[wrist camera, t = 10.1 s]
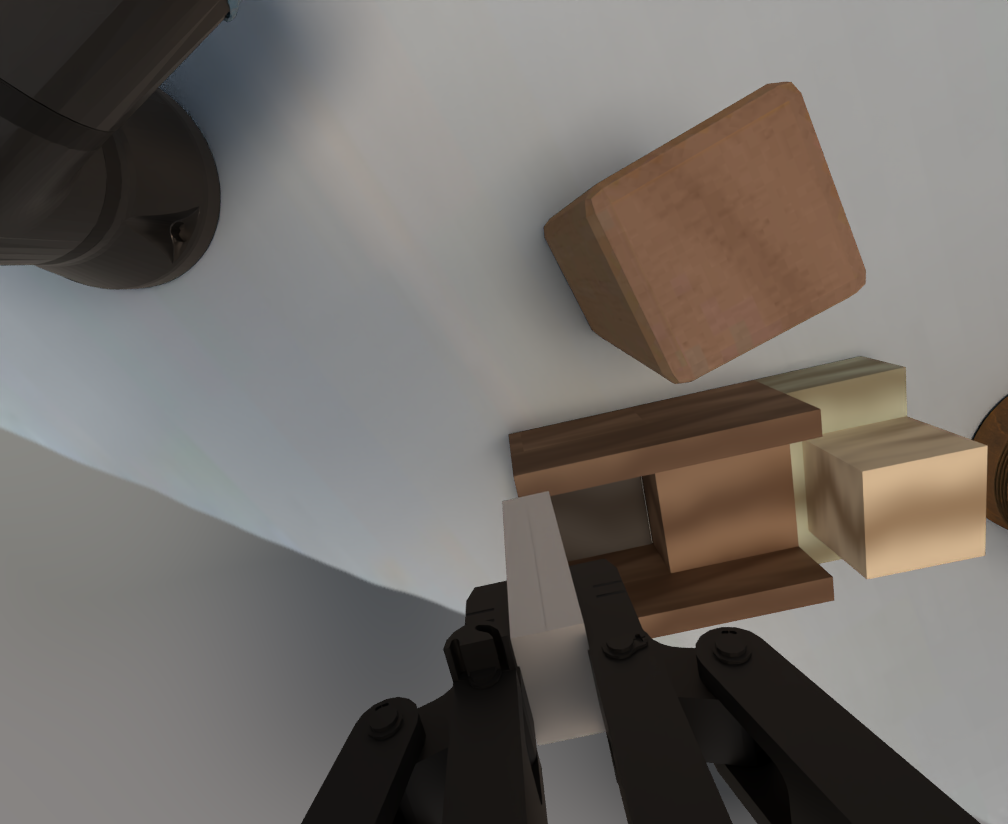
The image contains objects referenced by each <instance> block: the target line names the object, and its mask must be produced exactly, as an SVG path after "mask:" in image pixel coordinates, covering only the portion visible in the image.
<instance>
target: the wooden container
mask: <svg viewBox="0 0 1008 824" xmlns="http://www.w3.org/2000/svg"><path fill="white" fill-rule="evenodd" d="M973 441H976V442H979V443H982V444H984V445H987V446H988V447H987V491H986V518H988V519H989V520H991V521H992V522H994V523H996V524H998V525H1000V526H1002V527H1003V528H1005V529H1007V530H1008V397H1006V398H1005V399H1004V400H1003V401H1001V402H1000V403H999V404H998V405H997V406H996V407H995V409H994V410H993V411H992V412H991V413H990V414H989V416H988V417H987V418H986V419H985V421H984V422H983V423H982V425H981V427H980V428H979V430H978V432H977V434H976V435H975V438H974V440H973Z"/></svg>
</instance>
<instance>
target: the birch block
mask: <svg viewBox="0 0 1008 824" xmlns="http://www.w3.org/2000/svg"><path fill="white" fill-rule="evenodd" d="M987 447H988V446H987V445H984V444H982V443H979V442H976V441H973V440H971V439H968V438H965V437H962V436H959V435H957V434H954V433H951V432H948V431H946V430H943V429H940V428H937V427H935V426H932V425H929V424H926V423H924V422H921V421H918V420H915V419H913V418H910V417H907V416H905V417H900V418H895V419H891V420H886V421H881V422H876V423H871V424H867V425H862V426H857V427H852V428H848V429H843V430H838V431H833V432H829V433H824V434H823V437H820V438H815V439H810V440H806V441H802V448H803V461H804V475H805V489H806V503H807V517H808V530H809V532H811V533H812V534H813V535H814V536H815V537H817V538H818V539H819V540H820V541H821V542H823V543H824V544H825V545H826V546H827V547H829V548H830V549H831V550H832V551H833V552H835V553H836V554H837V555H838V556H839V557H841V558H842V559H843V560H844V561H845V562H847V563H848V564H849V565H850V566H852V567H853V568H854V569H855V570H856V571H858V572H859V573H860V574H861V575H862V576H864V577H865V578H866V579H871V578H876V577H881V576H886V575H891V574H896V573H901V572H906V571H911V570H916V569H921V568H925V567H930V566H935V565H940V564H945V563H950V562H955V561H960V560H965V559H970V558H975V557H980V556H985V535H986V491H987Z"/></svg>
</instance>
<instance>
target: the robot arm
mask: <svg viewBox="0 0 1008 824" xmlns="http://www.w3.org/2000/svg"><path fill="white" fill-rule="evenodd" d="M241 1H242V0H0V265H35V266H37V267H40V268H42V269H45V270H47V271H50V272H52V273H55V274H57V275H60V276H63V277H65V278H67V279H70V280H72V281H75V282H78V283H81V284H84V285H87V286H92V287H97V288H103V289H116V290H120V289H138V288H148V287H153V286H157V285H161V284H164V283H166V282H169V281H171V280H173V279H175V278H177V277H179V276H180V275H182V274H183V273H185V272H186V271H187V270H189V269H190V268H191V267H192V266H193V265H194V264H195V263H196V262H197V261H198V260H199V259H200V258H201V256H202V255H203V254H204V252H205V251H206V249H207V247H208V246H209V244H210V242H211V240H212V238H213V235H214V232H215V229H216V226H217V222H218V217H219V211H220V185H219V179H218V173H217V169H216V165H215V162H214V159H213V156H212V154H211V151H210V149H209V147H208V144H207V142H206V140H205V138H204V137H203V135H202V133H201V132H200V130H199V128H198V127H197V125H196V124H195V123H194V121H193V120H192V119H191V117H190V116H189V115H188V114H187V112H186V111H185V110H184V109H183V108H182V107H181V106H180V105H179V104H178V103H177V102H176V101H175V100H174V99H172V98H171V97H170V96H169V95H168V94H166V93H165V92H164V91H162V90H161V89H159V88H158V87H159V86H160V85H161V84H162V83H163V82H164V81H165V80H166V79H167V78H168V77H169V76H170V75H171V74H172V73H173V72H174V71H175V70H176V68H177V67H178V66H179V65H180V64H181V63H182V62H183V61H184V60H185V59H186V58H187V57H188V56H189V55H190V54H191V53H192V52H193V51H194V50H195V49H196V48H197V47H198V46H199V45H200V44H201V43H202V41H203V40H204V39H205V38H206V37H207V36H208V35H209V34H210V33H211V32H212V31H213V30H214V29H215V28H216V27H217V26H218V25H219V24H220V23H221V22H222V21H223V20H225V21H226V22H230V21H232V20H233V19H234V18H235V16H236V14H237V11H238V7H239V3H240V2H241ZM502 506H503V523H504V540H505V557H506V573H507V581H503V582H498V583H494V584H489V585H484V586H480V587H475V588H474V590H473V591H472V593H471V594H470V596H469V598H468V599H467V601H466V617H465V626H463V627H461V628H460V629H458V630H456V631H455V632H454V633H453V634H452V635H451V636H450V637H449V638H448V639H447V641H446V643H445V646H444V653H445V656H446V660H447V663H448V666H449V669H450V673H451V676H452V679H453V687H452V688H451V689H450V690H449V691H448V692H447V693H445V694H444V695H443V696H441V697H439V698H438V699H436V700H434V701H432V702H430V703H428V704H426V705H424V706H422V707H420V708H417V706H416V704H415V703H414V702H412V701H411V700H410V699H407V698H401V697H396V698H390V699H386V700H384V701H382V702H379V703H377V704H375V705H373V706H372V707H371V708H370V709H368V710H367V711H366V712H365V713H364V714H363V715H362V716H361V717H360V719H359V720H358V721H357V723H356V724H355V726H354V728H353V729H352V731H351V733H350V735H349V737H348V739H347V740H346V742H345V744H344V746H343V748H342V750H341V752H340V753H339V755H338V757H337V759H336V761H335V762H334V764H333V766H332V768H331V770H330V772H329V774H328V775H327V777H326V779H325V781H324V783H323V785H322V786H321V788H320V790H319V792H318V794H317V796H316V797H315V799H314V801H313V803H312V805H311V807H310V808H309V810H308V812H307V814H306V816H305V818H304V819H303V821H302V823H301V824H548V822H547V812H546V803H545V795H544V785H543V777H542V768H541V764H540V760H539V756H538V752H537V748H536V739H537V743H538V745H543V744H548V743H553V742H558V741H562V740H568V739H572V738H577V737H582V736H587V735H592V734H597V733H602V732H606V734H607V738H608V742H609V747H610V751H611V757H612V762H613V766H614V770H615V775H616V780H617V783H618V785H619V788H620V793H621V796H622V801H623V805H624V809H625V813H626V817H627V821H628V824H732V821H731V819H730V817H729V814H728V812H727V810H726V807H725V805H724V803H723V801H722V799H721V796H720V794H719V791H718V789H717V787H716V784H715V782H714V780H713V777H712V775H711V773H710V771H709V769H708V766H707V764H706V762H709V763H714V765H715V767H716V769H717V771H718V772H719V774H720V775H721V776H722V778H723V779H724V780H725V782H726V783H727V784H728V785H729V787H730V788H731V789H732V791H733V792H734V793H735V795H736V796H737V797H738V799H739V800H740V801H741V802H742V804H743V805H744V806H745V808H746V809H747V810H748V812H749V813H750V814H751V816H752V817H753V818H754V820H755V821H756V822H757V824H980V823H979V822H978V821H977V820H976V819H975V818H973V817H972V816H971V815H970V814H969V813H967V812H966V811H965V810H964V809H963V808H962V807H960V806H959V805H958V804H957V803H956V802H954V801H953V800H952V799H951V798H950V797H949V796H947V795H946V794H945V793H944V792H943V791H941V790H940V789H939V788H938V787H937V786H935V785H934V784H933V783H932V782H931V781H930V780H928V779H927V778H926V777H925V776H924V775H922V774H921V773H920V772H919V771H918V770H917V769H915V768H914V767H913V766H912V765H911V764H909V763H908V762H907V761H906V760H905V759H904V758H902V757H901V756H900V755H899V754H898V753H896V752H895V751H894V750H893V749H892V748H891V747H889V746H888V745H887V744H886V743H885V742H883V741H882V740H881V739H880V738H879V737H878V736H876V735H875V734H874V733H873V732H872V731H870V730H869V729H868V728H867V727H866V726H865V725H863V724H862V723H861V722H860V721H859V720H857V719H856V718H855V717H854V716H853V715H852V714H850V713H849V712H848V711H847V710H846V709H844V708H843V707H842V706H841V705H840V704H839V703H837V702H836V701H835V700H834V699H833V698H831V697H830V696H829V695H828V694H827V693H826V692H824V691H823V690H822V689H821V688H820V687H818V686H817V685H816V684H815V683H814V682H813V681H811V680H810V679H809V678H808V677H807V676H805V675H804V674H803V673H802V672H801V671H800V670H798V669H797V668H796V667H795V666H794V665H792V664H791V663H790V662H789V661H788V660H787V659H785V658H784V657H783V656H782V655H781V654H779V653H778V652H777V651H776V650H775V649H773V648H772V647H771V646H770V645H769V644H768V643H766V642H765V641H764V640H763V639H762V638H760V637H759V636H757V635H755V634H754V633H752V632H750V631H747V630H744V629H740V628H736V627H721V628H717V629H713V630H710V631H708V632H706V633H705V634H703V635H702V636H700V638H699V640H698V641H697V643H696V648H679V647H671V646H667V645H664V644H660V643H658V642H657V641H655V640H653V639H652V638H651V637H650V636H649V635H648V633H647V632H645V631H644V630H643V628H642V626H641V624H640V621H639V619H638V617H637V614H636V612H635V609H634V607H633V605H632V602H631V600H630V598H629V595H628V593H627V592H626V588H625V586H624V584H623V582H622V579H621V577H620V574H619V572H618V569H617V567H615V566H614V565H613V564H611V563H610V562H609V561H607V560H606V559H605V558H604V559H599V560H595V561H590V562H585V563H581V564H576V565H571V566H568V562H567V558H566V554H565V551H564V547H563V543H562V539H561V536H560V532H559V528H558V524H557V521H556V517H555V513H554V509H553V506H552V502H551V498H550V495H549V491H546V492H542V493H537V494H533V495H528V496H524V497H519V498H514V499H510V500H505V501H502ZM535 736H536V737H535Z"/></svg>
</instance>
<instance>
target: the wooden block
mask: <svg viewBox="0 0 1008 824" xmlns="http://www.w3.org/2000/svg"><path fill="white" fill-rule="evenodd" d="M544 235H545V239H546V241H547V243H548V245H549V247H550V249H551V251H552V253H553V255H554V257H555V259H556V260H557V262H558V264H559V266H560V268H561V270H562V272H563V274H564V276H565V278H566V280H567V282H568V284H569V286H570V288H571V290H572V292H573V294H574V295H575V297H576V299H577V301H578V303H579V305H580V307H581V309H582V311H583V313H584V315H585V317H586V319H587V321H588V323H589V325H590V327H591V329H592V330H593V331H594V332H595V333H596V334H598V335H599V336H600V337H602V338H603V339H605V340H606V341H608V342H610V343H611V344H613V345H614V346H616V347H617V348H619V349H621V350H622V351H624V352H625V353H627V354H628V355H630V356H632V357H633V358H635V359H636V360H638V361H639V362H641V363H643V364H644V365H646V366H647V367H649V368H650V369H652V370H653V371H655V372H657V373H658V374H660V375H661V376H663V377H664V378H666V379H668V380H669V381H671V382H672V383H674V384H678V383H686V382H691V381H693V380H695V379H697V378H699V377H701V376H703V375H704V374H706V373H708V372H710V371H712V370H714V369H716V368H718V367H719V366H721V365H723V364H725V363H727V362H729V361H731V360H733V359H734V358H736V357H738V356H740V355H742V354H744V353H746V352H748V351H749V350H751V349H753V348H755V347H757V346H759V345H761V344H763V343H764V342H766V341H768V340H770V339H772V338H774V337H776V336H778V335H779V334H781V333H783V332H785V331H787V330H789V329H791V328H793V327H794V326H796V325H798V324H800V323H802V322H804V321H806V320H808V319H809V318H811V317H813V316H815V315H817V314H819V313H821V312H823V311H824V310H826V309H828V308H830V307H832V306H834V305H836V304H838V303H839V302H841V301H843V300H845V299H847V298H849V297H850V296H852V295H854V294H855V293H857V292H858V291H859V290H860V289H861V288H862V287H863V286H864V285H865V281H866V270H865V267H864V264H863V261H862V259H861V256H860V253H859V250H858V248H857V245H856V242H855V239H854V237H853V234H852V231H851V228H850V226H849V223H848V220H847V218H846V215H845V212H844V209H843V207H842V204H841V201H840V198H839V196H838V193H837V190H836V187H835V185H834V182H833V179H832V176H831V174H830V171H829V168H828V165H827V163H826V160H825V157H824V155H823V152H822V149H821V146H820V144H819V141H818V138H817V135H816V133H815V130H814V127H813V124H812V122H811V119H810V116H809V113H808V111H807V108H806V105H805V102H804V100H803V97H802V94H801V92H800V91H799V90H798V89H797V88H796V87H795V86H794V84H793V83H792V82H779V83H771V84H766V85H765V86H763V87H761V88H760V89H758V90H756V91H755V92H753V93H751V94H749V95H748V96H746V97H744V98H743V99H741V100H739V101H737V102H736V103H734V104H732V105H731V106H729V107H727V108H725V109H724V110H722V111H720V112H719V113H717V114H715V115H714V116H712V117H710V118H708V119H707V120H705V121H703V122H702V123H700V124H698V125H696V126H695V127H693V128H691V129H690V130H688V131H686V132H685V133H683V134H681V135H679V136H678V137H676V138H674V139H673V140H671V141H669V142H667V143H666V144H664V145H662V146H661V147H659V148H657V149H656V150H654V151H652V152H650V153H649V154H647V155H645V156H644V157H642V158H640V159H638V160H637V161H635V162H633V163H632V164H630V165H628V166H627V167H625V168H623V169H621V170H620V171H618V172H616V173H615V174H613V175H611V176H609V177H608V178H606V179H604V180H603V181H601V182H599V183H598V184H596V185H595V186H593V187H592V188H591V189H589V190H588V191H586V192H585V193H584V194H582V195H581V196H580V197H578V198H577V199H576V200H574V201H573V202H572V203H570V204H569V205H568V206H566V207H565V208H564V209H562V210H561V211H560V212H558V213H557V214H556V215H554V216H553V217H551V218H550V219H549V221H548V222H547V223H546V225H545V226H544Z"/></svg>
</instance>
